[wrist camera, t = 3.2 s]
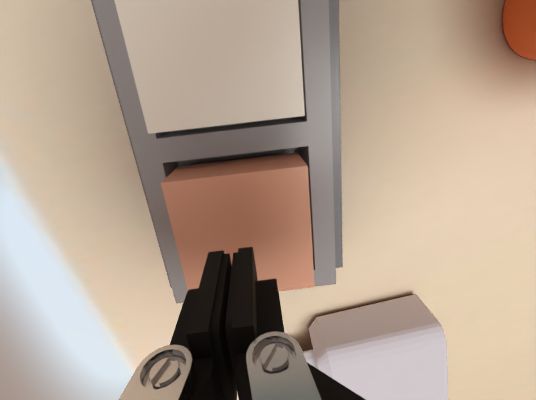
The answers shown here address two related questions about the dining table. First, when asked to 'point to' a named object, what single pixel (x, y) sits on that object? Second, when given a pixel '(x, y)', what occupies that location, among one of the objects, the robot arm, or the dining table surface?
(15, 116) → the dining table surface
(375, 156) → the dining table surface
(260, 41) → the cream key
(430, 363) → the charger
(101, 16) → the keypad
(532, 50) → the cup with straw
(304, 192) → the terracotta key
